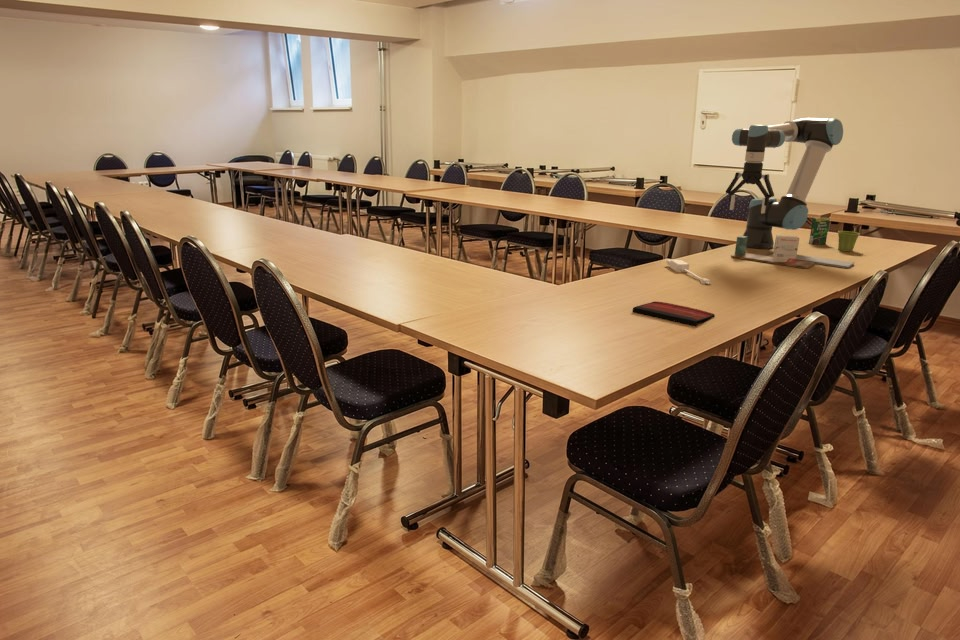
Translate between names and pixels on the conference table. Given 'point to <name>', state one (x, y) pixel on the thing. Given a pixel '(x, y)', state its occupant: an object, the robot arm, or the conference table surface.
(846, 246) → the plant pot
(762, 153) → the robot arm
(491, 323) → the conference table surface
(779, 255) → the ink box
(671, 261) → the charging cable
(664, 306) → the binder
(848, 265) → the grey strip
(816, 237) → the coffee box
